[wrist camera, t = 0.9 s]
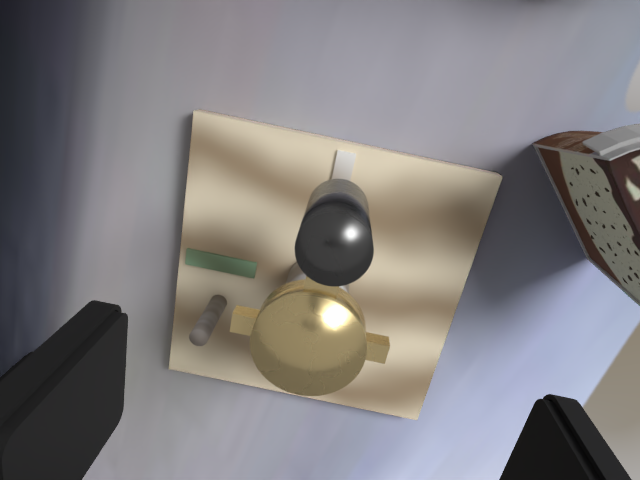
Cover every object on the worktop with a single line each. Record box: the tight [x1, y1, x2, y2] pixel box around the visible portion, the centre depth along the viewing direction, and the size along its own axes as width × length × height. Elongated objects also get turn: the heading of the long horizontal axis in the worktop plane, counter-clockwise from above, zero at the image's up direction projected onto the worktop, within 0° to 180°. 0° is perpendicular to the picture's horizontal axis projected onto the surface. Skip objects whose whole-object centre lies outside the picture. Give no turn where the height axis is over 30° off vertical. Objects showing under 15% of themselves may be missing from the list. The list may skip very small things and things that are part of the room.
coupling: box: [230, 179, 390, 396], centre depth 23 cm, size 12×9×6 cm
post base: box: [169, 109, 503, 420], centre depth 30 cm, size 20×20×7 cm
